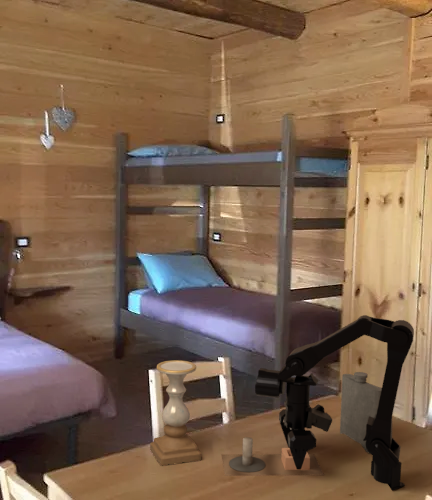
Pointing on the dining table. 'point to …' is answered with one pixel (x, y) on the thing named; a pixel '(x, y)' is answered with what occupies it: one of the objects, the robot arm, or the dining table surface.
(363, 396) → the hip flask
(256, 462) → the post board
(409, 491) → the dining table surface
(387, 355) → the robot arm
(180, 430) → the candle holder
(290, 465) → the collar
